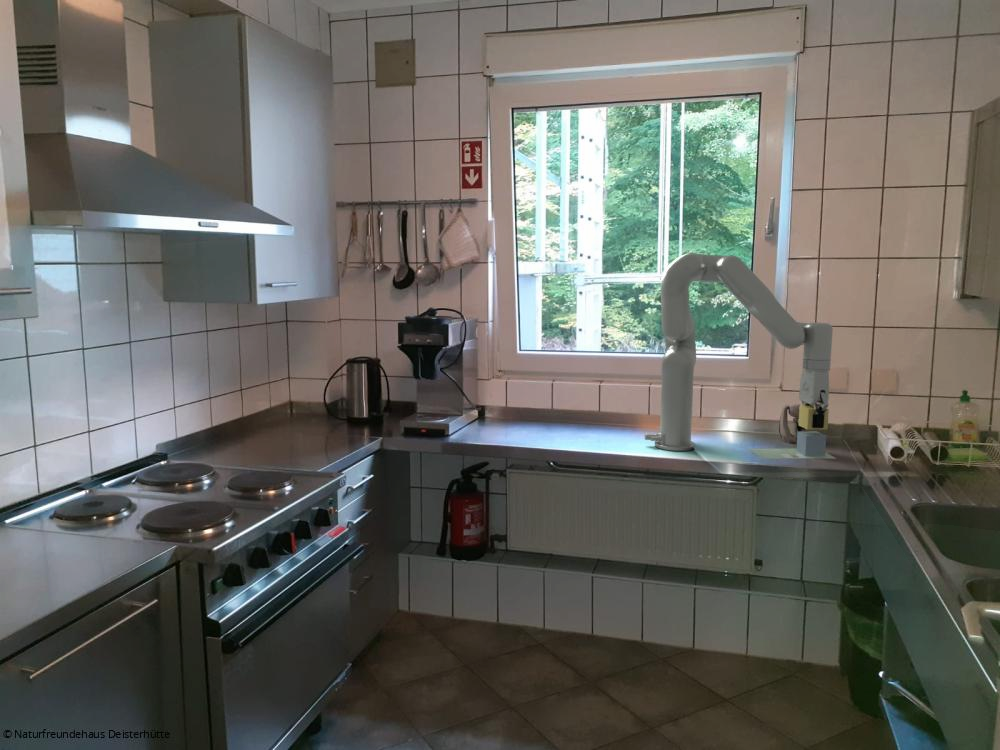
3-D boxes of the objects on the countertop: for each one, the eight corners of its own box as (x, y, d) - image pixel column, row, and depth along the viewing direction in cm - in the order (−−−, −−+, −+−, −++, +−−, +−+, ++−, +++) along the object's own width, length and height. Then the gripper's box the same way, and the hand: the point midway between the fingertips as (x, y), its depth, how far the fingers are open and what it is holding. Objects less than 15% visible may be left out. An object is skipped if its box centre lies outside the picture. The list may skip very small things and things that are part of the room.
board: (761, 462, 224) (762, 458, 224) (746, 452, 236) (747, 448, 236) (836, 462, 225) (836, 457, 225) (817, 452, 237) (817, 447, 237)
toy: (814, 446, 242) (801, 400, 241) (786, 452, 244) (774, 407, 243) (808, 439, 251) (797, 395, 250) (782, 446, 253) (770, 402, 252)
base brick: (805, 455, 227) (806, 435, 227) (796, 450, 233) (797, 431, 232) (825, 455, 228) (826, 435, 227) (815, 450, 234) (817, 431, 233)
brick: (807, 429, 226) (808, 409, 225) (798, 425, 232) (799, 405, 231) (827, 429, 227) (828, 409, 226) (818, 425, 232) (819, 405, 232)
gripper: (791, 361, 235) (788, 419, 238) (817, 369, 218) (813, 431, 221) (815, 361, 235) (812, 419, 238) (843, 369, 218) (839, 431, 221)
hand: (812, 424), depth 229 cm, fingers closed on brick, 6 cm apart
